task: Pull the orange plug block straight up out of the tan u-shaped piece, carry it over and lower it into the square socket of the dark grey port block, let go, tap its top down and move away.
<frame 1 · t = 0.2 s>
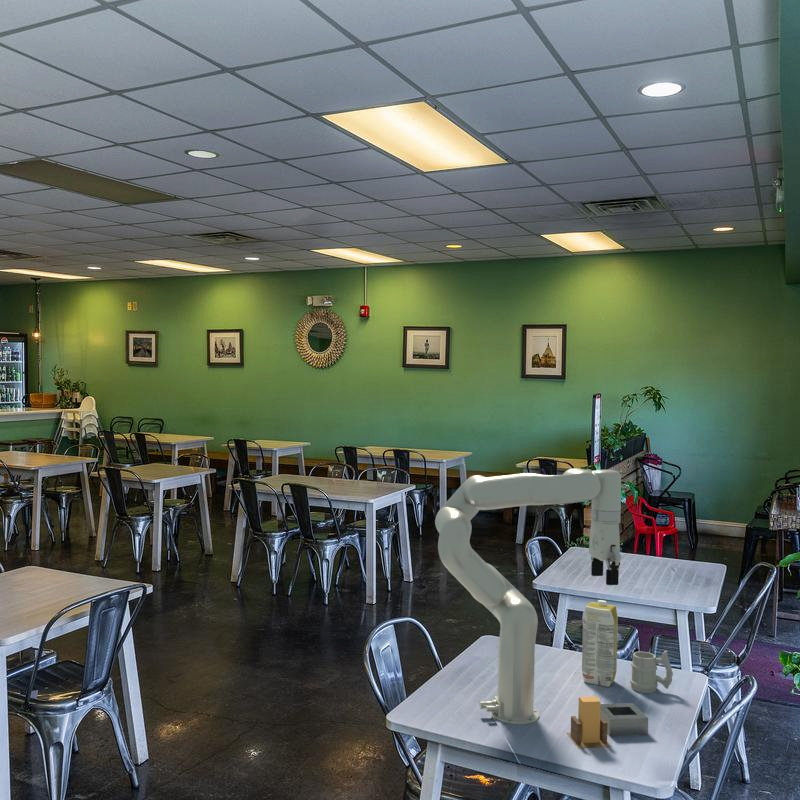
hand: (604, 580, 198), 36 cm above the table, tool pointing down, fingers open, 9 cm apart
tan u-shaped piece: (588, 743, 182), on the table
port block: (621, 730, 189), on the table
juice carton: (598, 682, 222), on the table
mug: (650, 690, 216), on the table
plug: (588, 739, 182), point 1 cm above the table, touching tan u-shaped piece
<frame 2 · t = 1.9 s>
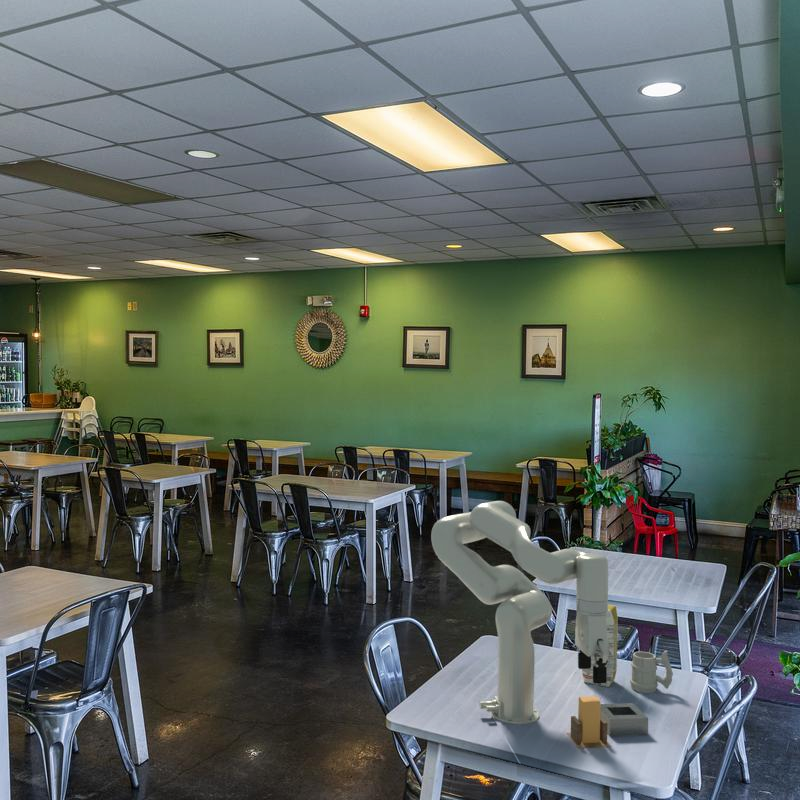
hand: (591, 675, 181), 17 cm above the table, tool pointing down, fingers open, 9 cm apart
nothing on the table moved.
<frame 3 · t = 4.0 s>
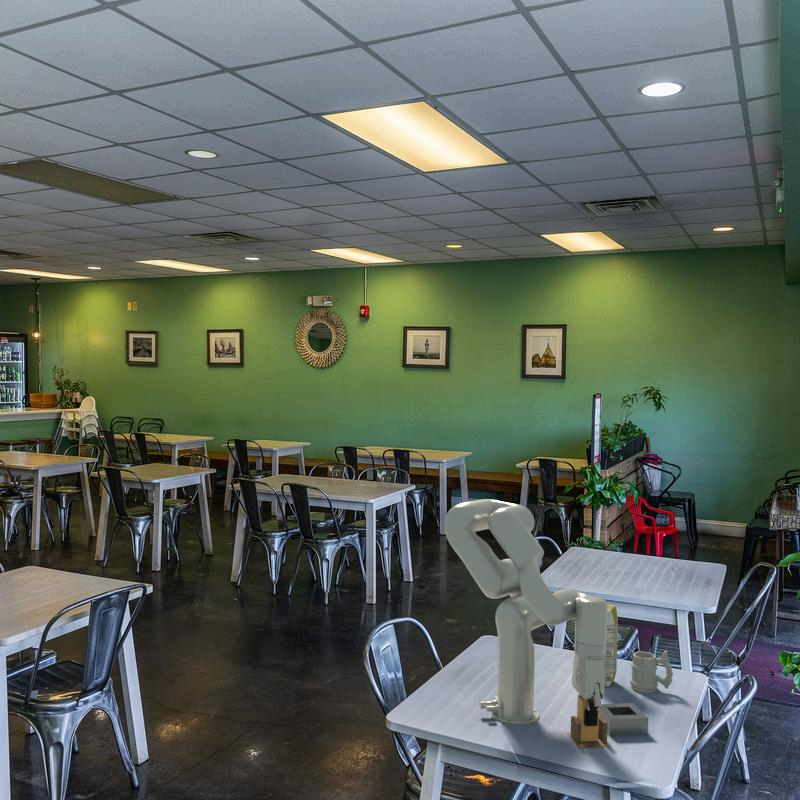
hand: (587, 721, 182), 5 cm above the table, tool pointing down, fingers closed on plug, 3 cm apart
plug: (586, 738, 182), point 1 cm above the table, touching gripper
everything else where it was.
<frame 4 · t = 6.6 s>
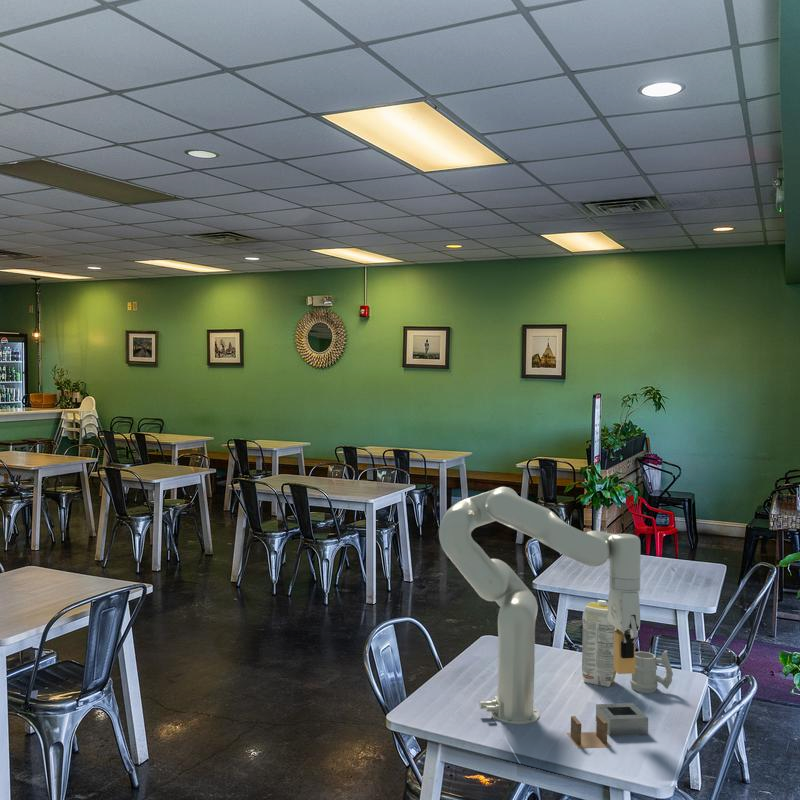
hand: (624, 654, 189), 19 cm above the table, tool pointing down, fingers closed on plug, 3 cm apart
plug: (624, 671, 189), point 15 cm above the table, touching gripper
everything else where it was.
when the fingers open (6 cm above the table, at t = 9.4 s): plug stays where it is, resting on port block.
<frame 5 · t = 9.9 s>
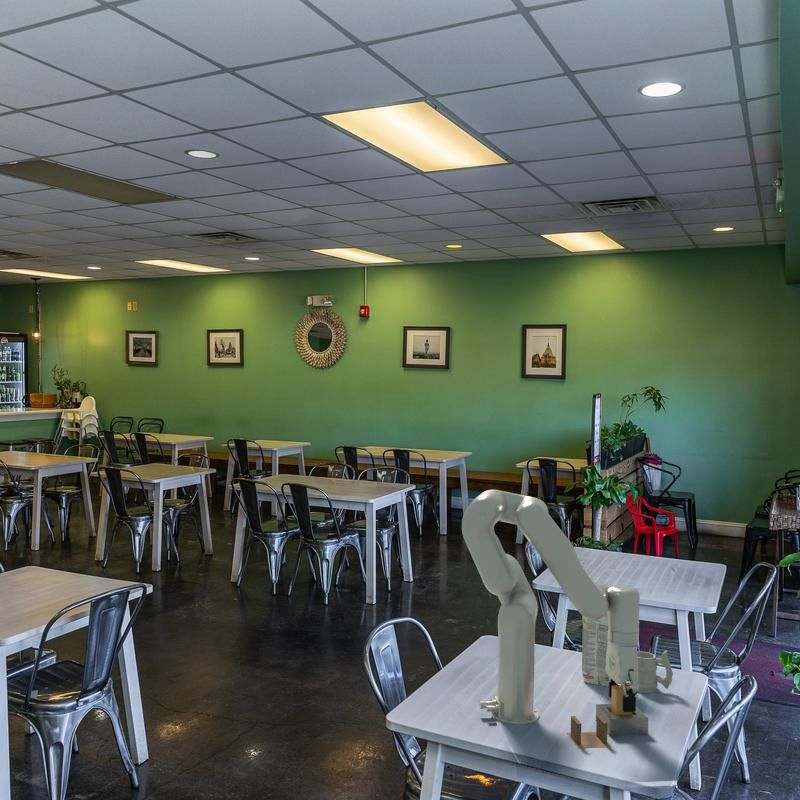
hand: (621, 704, 189), 7 cm above the table, tool pointing down, fingers open, 8 cm apart
plug: (621, 726, 189), point 1 cm above the table, touching port block
everything else where it was.
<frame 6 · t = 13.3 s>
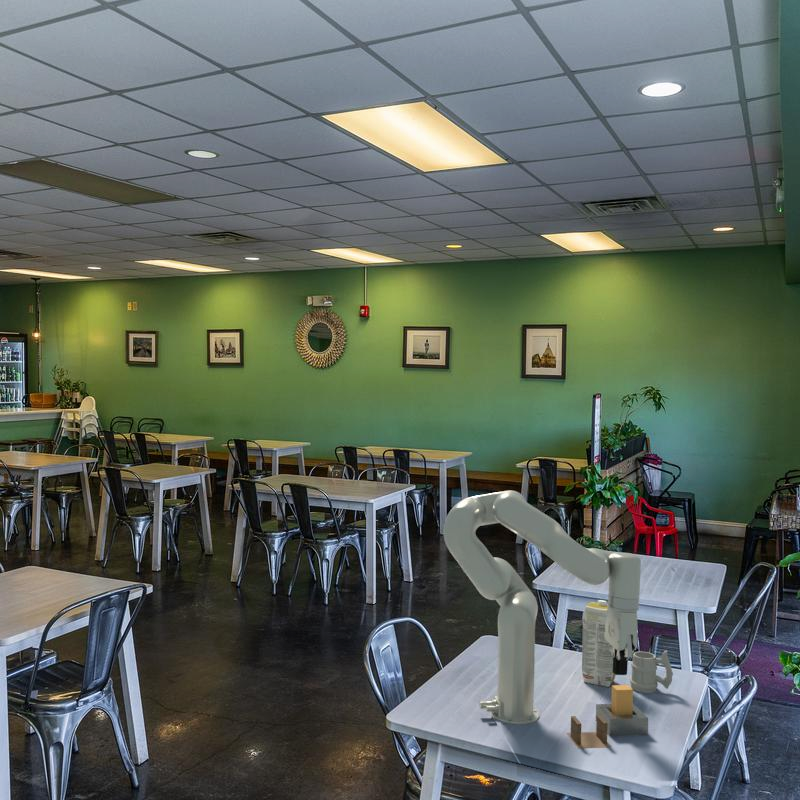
hand: (619, 673, 189), 14 cm above the table, tool pointing down, fingers closed
nothing on the table moved.
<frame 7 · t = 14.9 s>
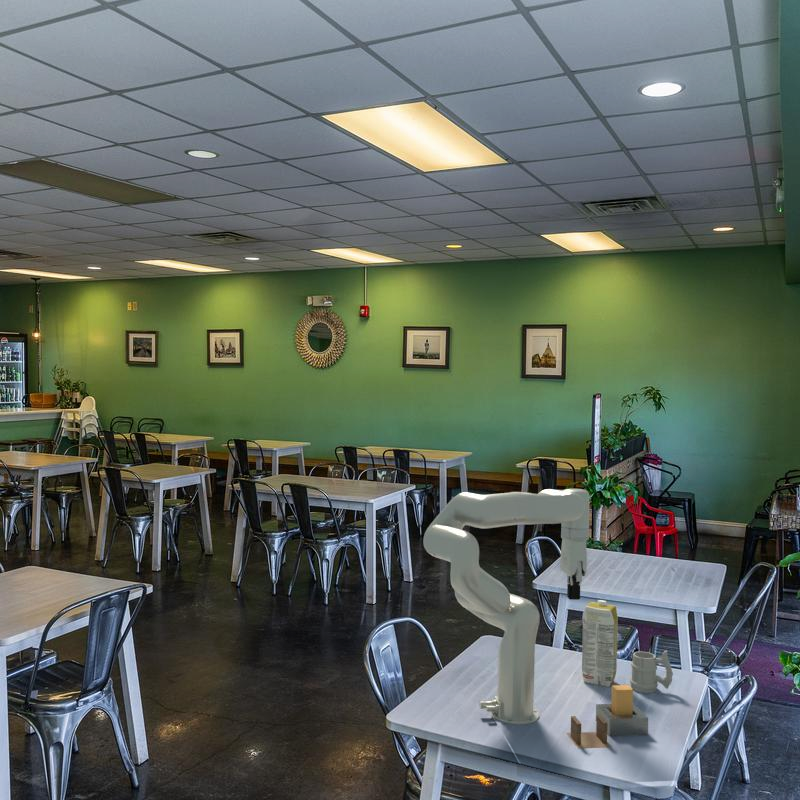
hand: (573, 598, 208), 29 cm above the table, tool pointing down, fingers closed
nothing on the table moved.
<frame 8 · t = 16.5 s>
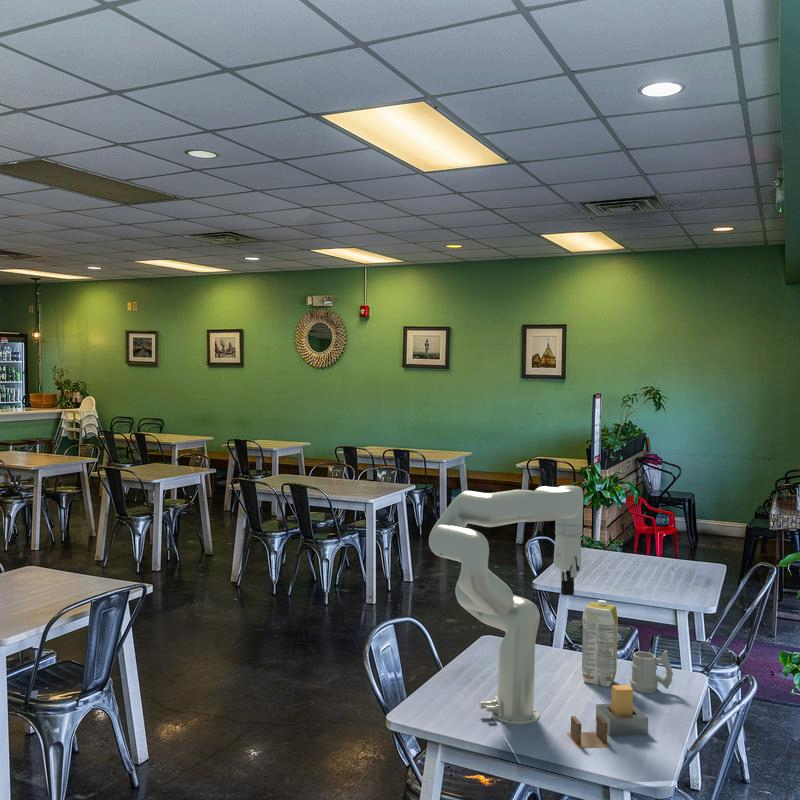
hand: (567, 594, 210), 29 cm above the table, tool pointing down, fingers closed
nothing on the table moved.
at the end: plug 0.1 cm off-centre on the port block, point 1.0 cm above the port block's base; plug tilted 0°; the gripper is holding nothing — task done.
